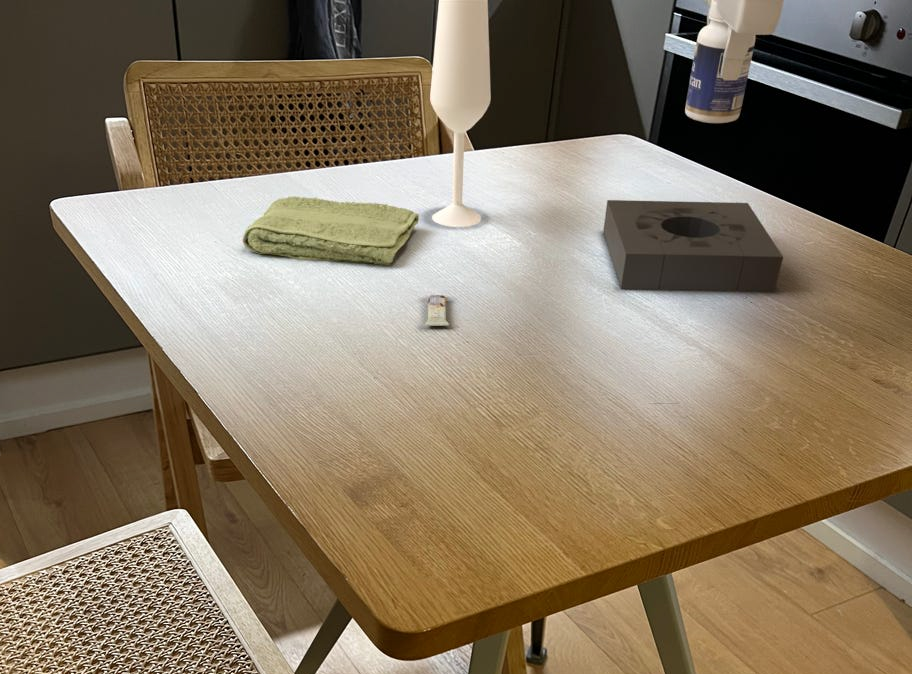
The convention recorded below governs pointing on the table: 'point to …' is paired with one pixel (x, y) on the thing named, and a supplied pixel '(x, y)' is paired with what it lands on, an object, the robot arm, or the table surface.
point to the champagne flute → (460, 87)
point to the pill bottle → (715, 76)
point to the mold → (690, 247)
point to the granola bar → (437, 310)
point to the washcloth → (331, 230)
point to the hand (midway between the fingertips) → (720, 69)
